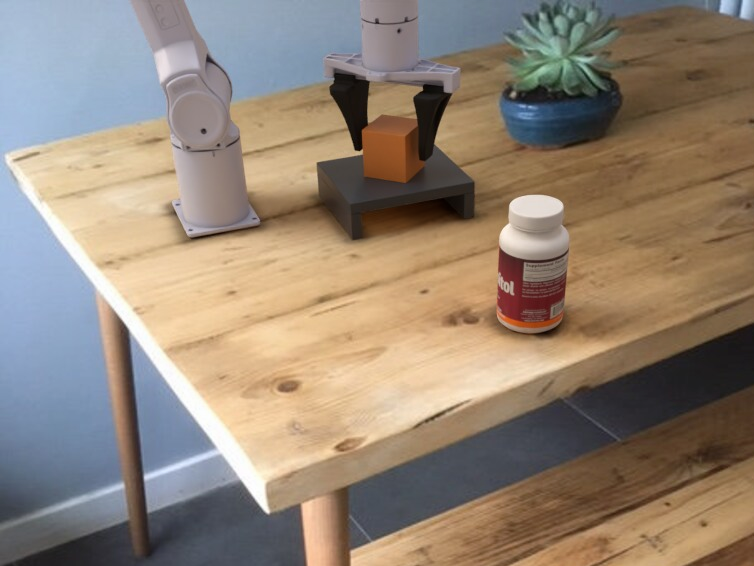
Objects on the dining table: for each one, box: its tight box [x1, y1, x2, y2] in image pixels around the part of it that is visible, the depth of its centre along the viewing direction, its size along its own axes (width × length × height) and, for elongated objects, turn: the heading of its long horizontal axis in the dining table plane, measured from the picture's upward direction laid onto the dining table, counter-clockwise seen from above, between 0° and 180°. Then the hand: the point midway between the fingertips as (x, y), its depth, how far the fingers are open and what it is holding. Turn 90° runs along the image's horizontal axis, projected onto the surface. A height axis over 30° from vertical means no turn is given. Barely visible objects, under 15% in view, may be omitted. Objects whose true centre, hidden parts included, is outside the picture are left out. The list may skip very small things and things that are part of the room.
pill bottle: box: [496, 194, 571, 334], centre depth 93 cm, size 6×6×11 cm
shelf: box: [316, 143, 476, 241], centre depth 114 cm, size 12×14×4 cm
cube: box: [362, 113, 425, 183], centre depth 111 cm, size 5×5×5 cm
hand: (393, 152), depth 112 cm, fingers open, 7 cm apart
